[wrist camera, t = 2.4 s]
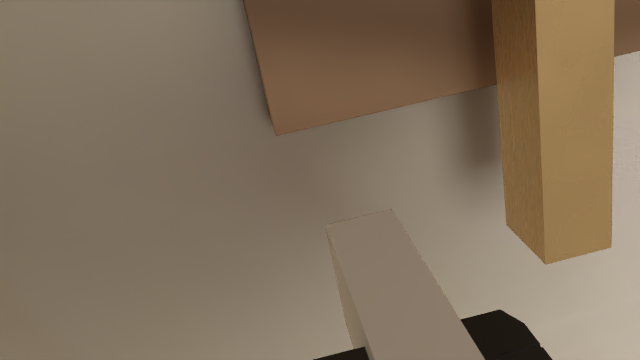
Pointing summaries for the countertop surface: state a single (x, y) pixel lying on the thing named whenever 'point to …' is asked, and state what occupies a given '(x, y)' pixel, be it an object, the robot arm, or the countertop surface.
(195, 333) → the countertop surface
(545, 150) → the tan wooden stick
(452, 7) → the base
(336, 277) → the robot arm
